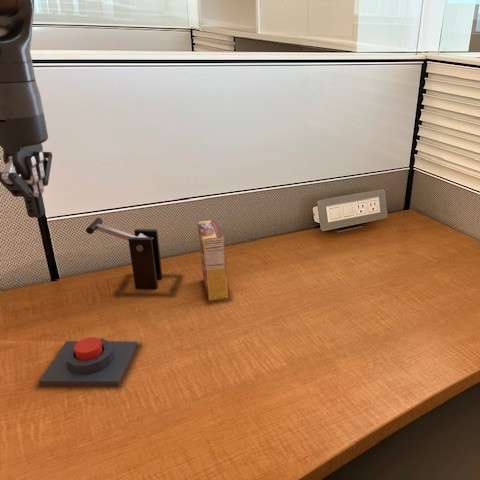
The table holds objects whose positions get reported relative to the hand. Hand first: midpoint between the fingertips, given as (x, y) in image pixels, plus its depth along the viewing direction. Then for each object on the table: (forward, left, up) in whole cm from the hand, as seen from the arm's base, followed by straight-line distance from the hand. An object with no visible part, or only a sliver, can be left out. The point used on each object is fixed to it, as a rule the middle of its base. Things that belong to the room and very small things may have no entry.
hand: (37, 215), depth 80 cm
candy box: (+21, +20, -23) cm, 37 cm away
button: (+13, -8, -19) cm, 25 cm away
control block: (+13, -8, -23) cm, 27 cm away
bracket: (+7, +17, -23) cm, 29 cm away
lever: (+2, +16, -11) cm, 19 cm away
